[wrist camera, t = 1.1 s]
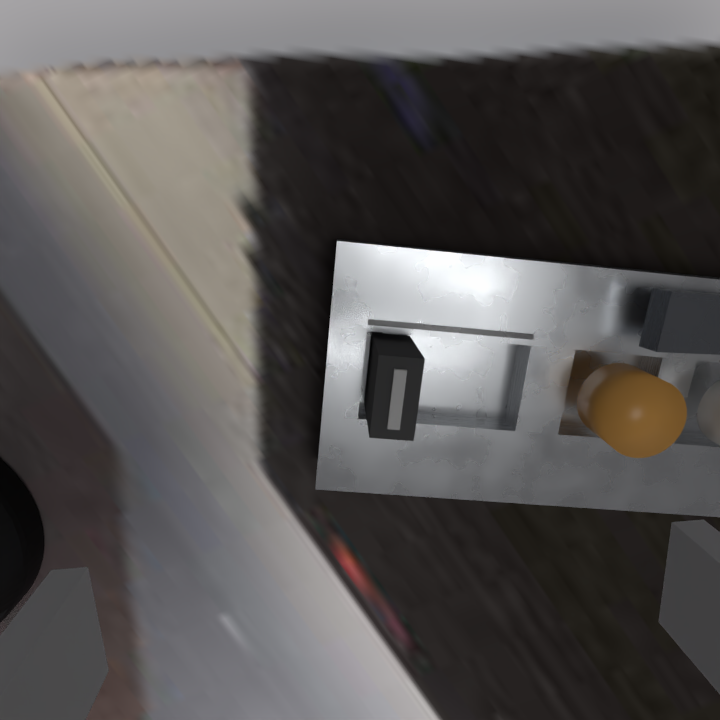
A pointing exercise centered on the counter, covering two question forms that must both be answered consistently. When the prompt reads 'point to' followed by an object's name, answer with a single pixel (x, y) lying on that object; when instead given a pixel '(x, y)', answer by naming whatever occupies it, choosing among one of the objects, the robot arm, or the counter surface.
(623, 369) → the orange button
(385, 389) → the slider knob
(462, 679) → the counter surface
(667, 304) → the block
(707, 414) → the cream button
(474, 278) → the panel
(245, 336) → the counter surface
